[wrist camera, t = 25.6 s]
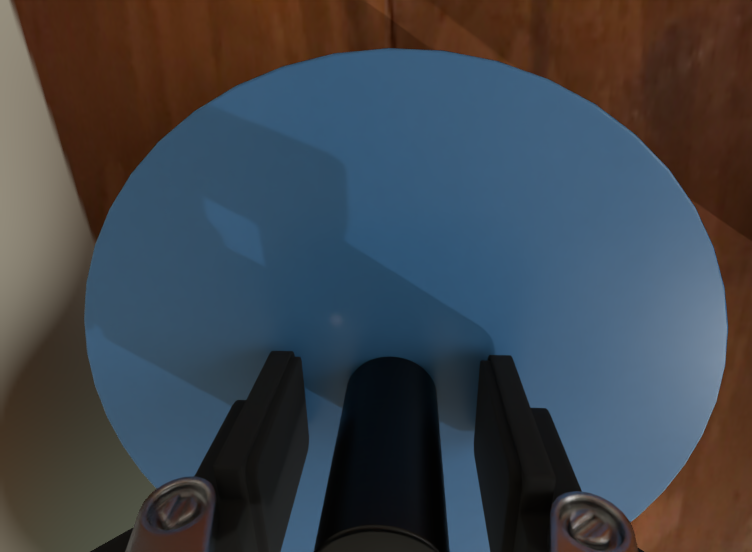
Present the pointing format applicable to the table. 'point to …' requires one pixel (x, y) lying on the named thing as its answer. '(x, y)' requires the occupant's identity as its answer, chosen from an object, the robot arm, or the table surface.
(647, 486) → the lid
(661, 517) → the table surface
